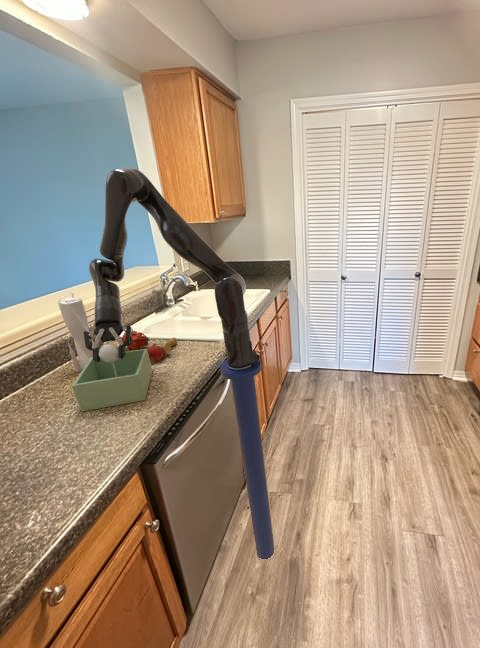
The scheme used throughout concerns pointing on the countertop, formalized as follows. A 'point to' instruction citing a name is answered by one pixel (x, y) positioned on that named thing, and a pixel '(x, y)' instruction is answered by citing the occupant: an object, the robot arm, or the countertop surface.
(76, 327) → the skyscraper
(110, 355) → the lollipop
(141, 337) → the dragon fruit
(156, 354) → the kendama
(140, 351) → the bin
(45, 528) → the countertop surface
